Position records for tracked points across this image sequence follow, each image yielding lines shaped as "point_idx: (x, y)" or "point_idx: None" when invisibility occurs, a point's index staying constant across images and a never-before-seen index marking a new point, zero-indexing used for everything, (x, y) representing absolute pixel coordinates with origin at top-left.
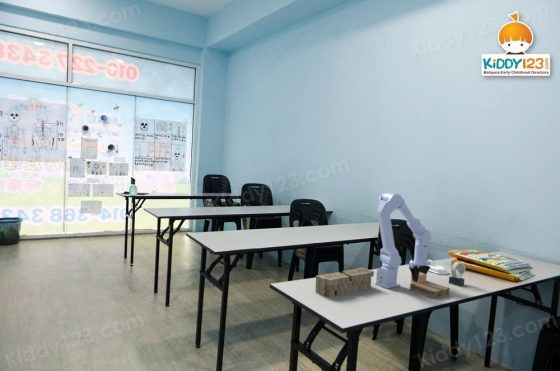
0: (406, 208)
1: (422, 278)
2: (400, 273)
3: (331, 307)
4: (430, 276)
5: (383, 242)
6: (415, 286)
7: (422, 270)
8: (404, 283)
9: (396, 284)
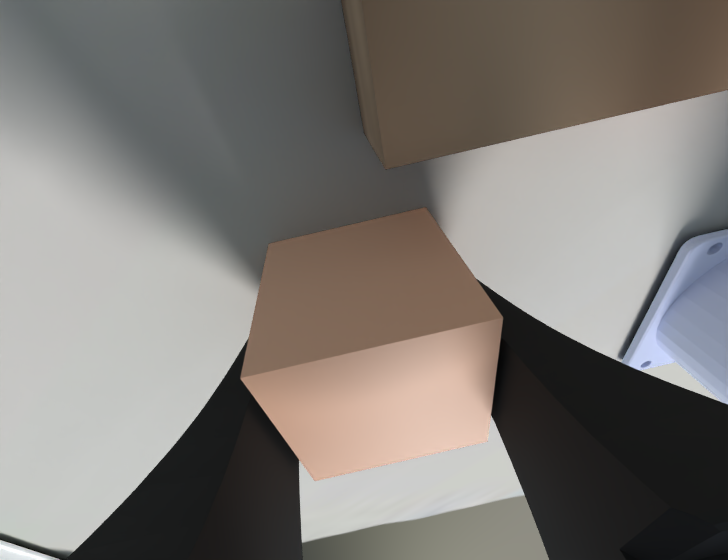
0: None
1: (383, 286)
2: (320, 483)
3: None
4: (21, 450)
5: None
6: None
7: (273, 502)
8: (533, 304)
9: (720, 261)
